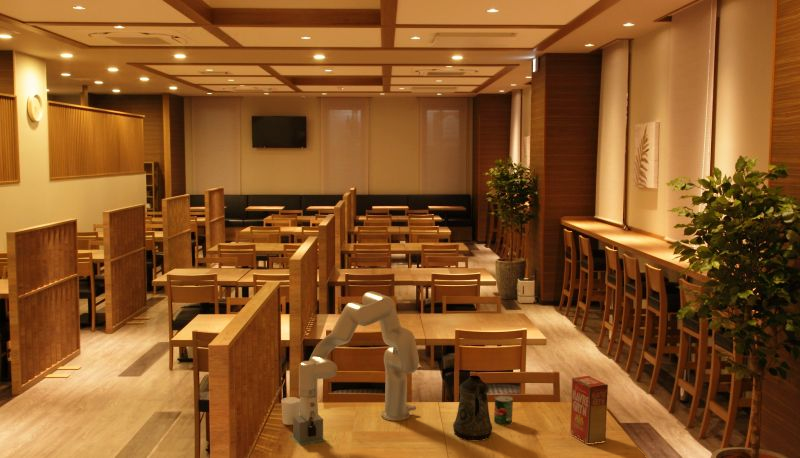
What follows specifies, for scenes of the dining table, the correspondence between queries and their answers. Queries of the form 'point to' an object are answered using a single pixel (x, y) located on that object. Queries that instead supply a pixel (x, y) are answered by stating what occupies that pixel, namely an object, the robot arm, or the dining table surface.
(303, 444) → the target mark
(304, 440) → the grey rectangular box
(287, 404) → the white cup
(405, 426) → the dining table surface
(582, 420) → the food packaging
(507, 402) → the canned tomato
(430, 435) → the dining table surface
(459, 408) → the beer stein
